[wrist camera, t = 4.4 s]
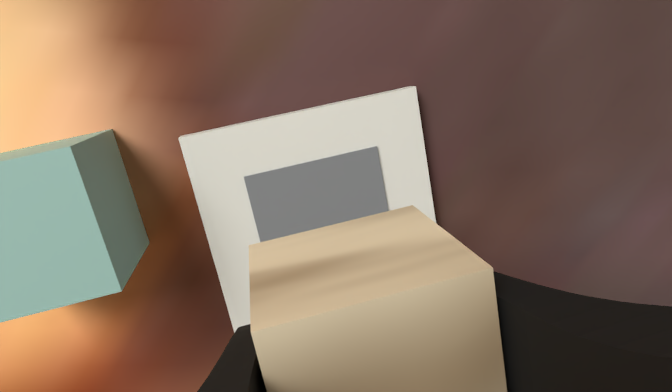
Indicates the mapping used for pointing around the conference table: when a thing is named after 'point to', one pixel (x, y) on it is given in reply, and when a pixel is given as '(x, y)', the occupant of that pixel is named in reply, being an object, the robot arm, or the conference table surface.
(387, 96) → the white flat square plate
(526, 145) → the conference table surface
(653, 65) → the conference table surface
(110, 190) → the teal cube
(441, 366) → the maple cube
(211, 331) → the conference table surface
